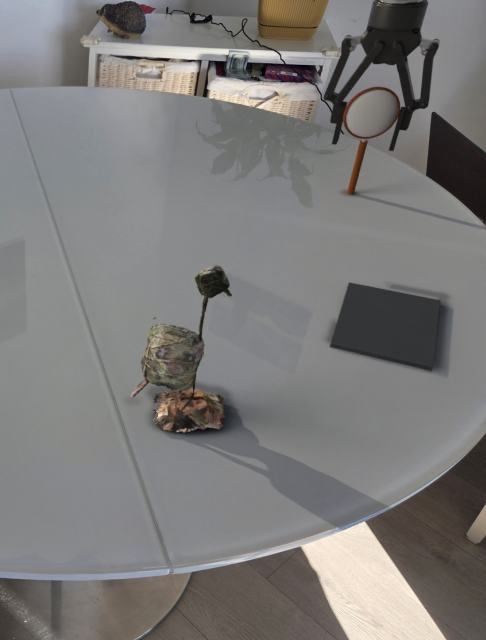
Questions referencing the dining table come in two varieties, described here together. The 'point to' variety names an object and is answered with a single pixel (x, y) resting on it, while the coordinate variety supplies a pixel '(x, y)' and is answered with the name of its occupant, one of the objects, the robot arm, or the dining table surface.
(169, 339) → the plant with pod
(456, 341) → the dining table surface
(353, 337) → the mat
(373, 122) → the magnifying glass
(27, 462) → the dining table surface
